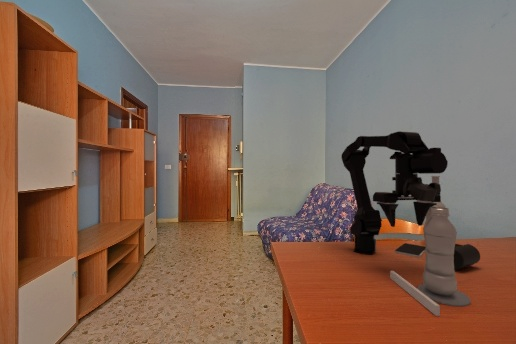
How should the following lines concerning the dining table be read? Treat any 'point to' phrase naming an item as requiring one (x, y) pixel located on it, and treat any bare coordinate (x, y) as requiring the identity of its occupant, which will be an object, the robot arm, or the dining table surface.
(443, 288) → the plastic bottle
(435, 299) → the slate mat
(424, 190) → the robot arm
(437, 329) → the dining table surface
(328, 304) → the dining table surface
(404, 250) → the smartphone
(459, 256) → the end cap
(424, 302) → the frosted wall
